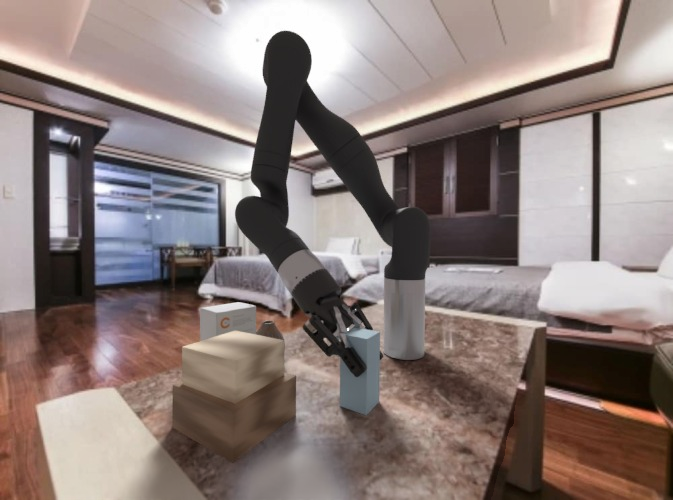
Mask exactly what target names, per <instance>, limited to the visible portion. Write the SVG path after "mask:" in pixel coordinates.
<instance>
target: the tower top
mask: <svg viewBox="0 0 673 500" xmlns="http://www.w3.org/2000/svg"><path fill="white" fill-rule="evenodd" d="M284 342H285V343H286V341H285V339H284V340H281V339H276V338H271V337H266V336H261V335H256V334H251V333H245V332H240V331H232V332H228V333H225V334H222V335H219V336H215V337H212V338H209V339H206V340H202V341H200V340H199V341H195V342H194V343H190V344H186V345H183V346H181V381H182V384H183V385H186V386H188V387H191V388H194V389H196V390H199V391H202V392H204V393H207V394H210V395H213V396H215V397H218V398H221V399H223V400H226V401H229V402H232V403H234V404H236V403H238V402H239V401H241V400H243V399H244V398H246V397H248V396H249V395H251V394H253V393H255V392H256V391H258V390H260V389H261V388H263V387H265V386H266V385H268V384H270V383H271V382H273V381H275V380H277V379H278V378H280V377H282V376H283V375H284V372H285V352H284Z"/></svg>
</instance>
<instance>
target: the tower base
mask: <svg viewBox="0 0 673 500" xmlns="http://www.w3.org/2000/svg"><path fill="white" fill-rule="evenodd" d="M171 414H172V415H171V417H172V420H171V421H172V426H171V427H172V428H173V429H174V430H176V431H178V432H179V433H181V434H182V435H184V436H186V437H187V438H189V439H191V440H193V441H195V442H196V443H198V444H200V445H201V446H203V447H205V448H206V449H208V450H210V451H211V452H213V453H215V454H216V455H219V456H220V457H222V458H224V459H225V460H226V461H229V462H230V463H231V464H232V463H235V461H237V460H238V459H239V458H241V457H242V456H244V455H245V454H246V453H248V452H249V451H250V450H252V449H253V448H254V447H256V446H257V445H258V444H260V443H261V442H262V441H264V440H265V439H267V438H268V437H269V436H271V435H272V434H273V433H274V432H276V431H277V430H278V429H280V428H281V427H282V426H284V425H285V424H286V423H287V422H290V421H291V420H292V419H293V418H294V417H296V415H297V375H296V374H292V373H288V372H285V371H284V375H283V376H282V377H280V378H278V379H277V380H275V381H273V382H271V383H270V384H268V385H266V386H265V387H263V388H261V389H260V390H258V391H256V392H255V393H253V394H251V395H249V396H248V397H246V398H244V399H243V400H241V401H239V402H238V403H236V404H234V403H232V402H229V401H226V400H223V399H221V398H218V397H215V396H213V395H210V394H207V393H204V392H202V391H199V390H196V389H194V388H191V387H188V386H186V385H183V384H182V380H181V381H178V382H176V383H173V384H172V413H171Z"/></svg>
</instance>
